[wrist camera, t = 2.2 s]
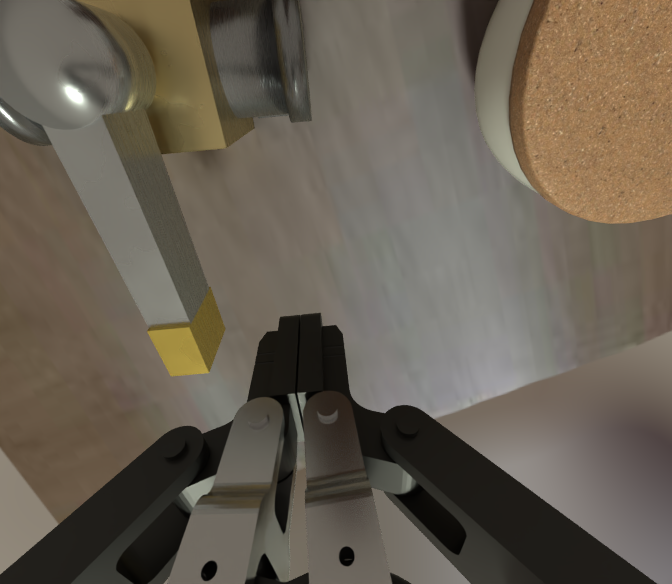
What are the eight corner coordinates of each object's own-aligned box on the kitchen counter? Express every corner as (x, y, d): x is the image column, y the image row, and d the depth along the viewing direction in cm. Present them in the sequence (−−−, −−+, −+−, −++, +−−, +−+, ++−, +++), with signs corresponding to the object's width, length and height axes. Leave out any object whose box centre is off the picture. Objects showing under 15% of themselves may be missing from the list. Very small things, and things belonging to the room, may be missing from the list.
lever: (34, 11, 10) (-70, -16, 7) (133, 2, 10) (65, -29, 7) (181, 331, 18) (156, 377, 15) (238, 326, 18) (223, 371, 15)
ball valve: (299, -11, 16) (287, -72, 10) (313, 122, 19) (311, 141, 13) (31, 14, 16) (-151, -31, 10) (91, 143, 19) (-16, 171, 13)
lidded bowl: (642, -195, 13) (1351, -801, 4) (688, 77, 19) (1036, 70, 10) (398, 47, 18) (488, 8, 8) (495, 212, 23) (613, 297, 14)
